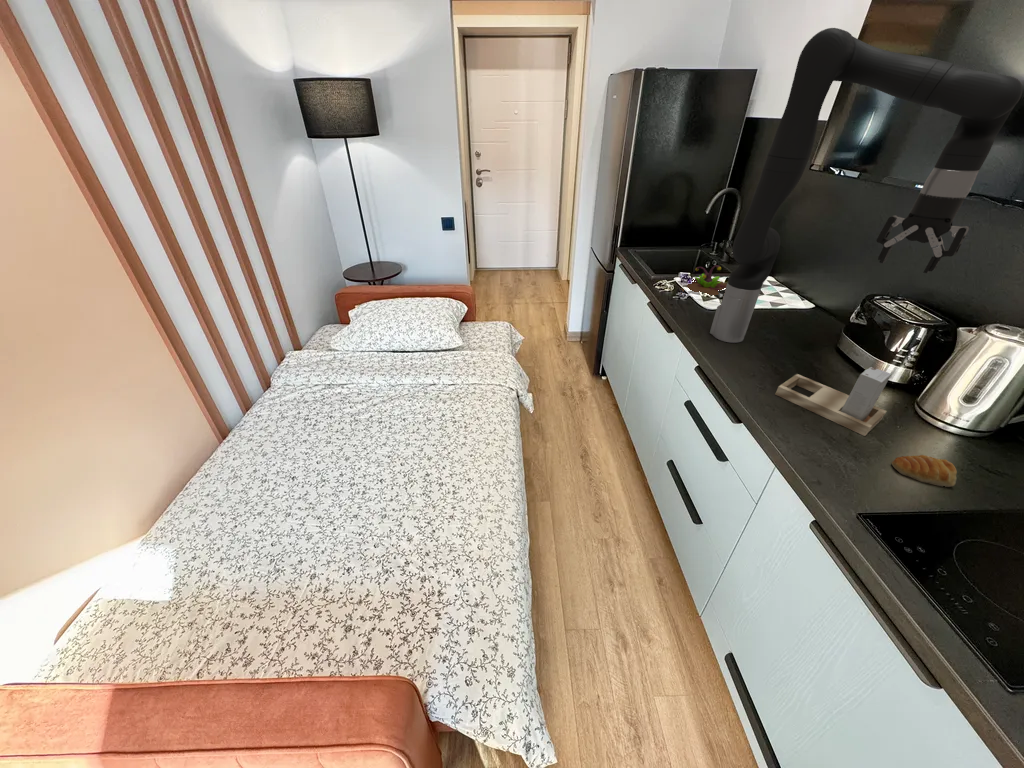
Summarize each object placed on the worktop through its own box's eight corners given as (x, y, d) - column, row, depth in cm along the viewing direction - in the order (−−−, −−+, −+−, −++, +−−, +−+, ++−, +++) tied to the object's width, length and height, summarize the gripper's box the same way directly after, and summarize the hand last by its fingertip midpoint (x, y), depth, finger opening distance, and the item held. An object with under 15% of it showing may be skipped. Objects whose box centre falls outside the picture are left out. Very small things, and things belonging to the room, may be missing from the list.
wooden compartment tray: (775, 394, 108) (778, 386, 106) (793, 381, 113) (797, 373, 111) (864, 436, 94) (870, 427, 93) (881, 419, 99) (886, 411, 98)
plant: (726, 306, 154) (735, 277, 148) (673, 295, 163) (679, 267, 157) (736, 289, 168) (745, 262, 162) (686, 280, 177) (693, 253, 171)
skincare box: (857, 426, 96) (883, 383, 90) (836, 416, 100) (859, 374, 93) (868, 416, 99) (894, 374, 93) (847, 407, 102) (870, 365, 96)
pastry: (898, 480, 84) (908, 466, 81) (883, 457, 89) (893, 444, 87) (955, 490, 81) (966, 476, 79) (936, 466, 87) (947, 452, 85)
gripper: (896, 189, 92) (862, 262, 101) (983, 200, 83) (937, 279, 92) (908, 186, 96) (874, 257, 105) (993, 195, 86) (947, 272, 95)
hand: (903, 267), depth 98 cm, fingers open, 8 cm apart
